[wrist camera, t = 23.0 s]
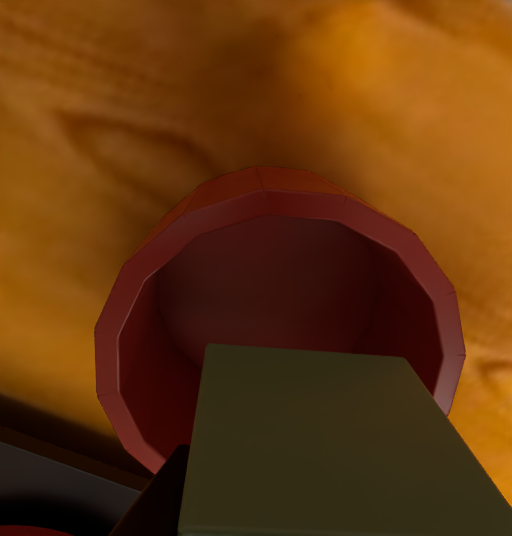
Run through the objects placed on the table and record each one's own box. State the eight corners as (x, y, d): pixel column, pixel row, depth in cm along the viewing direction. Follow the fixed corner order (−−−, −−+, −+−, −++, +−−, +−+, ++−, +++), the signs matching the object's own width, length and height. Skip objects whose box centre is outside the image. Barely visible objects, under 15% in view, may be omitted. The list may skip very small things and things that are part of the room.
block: (405, 355, 9) (541, 545, 5) (368, 506, 11) (450, 752, 6) (206, 341, 9) (177, 529, 5) (195, 498, 10) (165, 750, 6)
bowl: (437, 240, 18) (539, 300, 12) (311, 426, 20) (341, 552, 14) (210, 116, 16) (191, 110, 10) (106, 340, 19) (42, 443, 13)
